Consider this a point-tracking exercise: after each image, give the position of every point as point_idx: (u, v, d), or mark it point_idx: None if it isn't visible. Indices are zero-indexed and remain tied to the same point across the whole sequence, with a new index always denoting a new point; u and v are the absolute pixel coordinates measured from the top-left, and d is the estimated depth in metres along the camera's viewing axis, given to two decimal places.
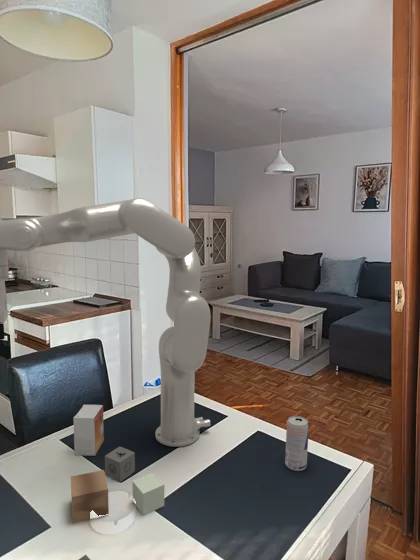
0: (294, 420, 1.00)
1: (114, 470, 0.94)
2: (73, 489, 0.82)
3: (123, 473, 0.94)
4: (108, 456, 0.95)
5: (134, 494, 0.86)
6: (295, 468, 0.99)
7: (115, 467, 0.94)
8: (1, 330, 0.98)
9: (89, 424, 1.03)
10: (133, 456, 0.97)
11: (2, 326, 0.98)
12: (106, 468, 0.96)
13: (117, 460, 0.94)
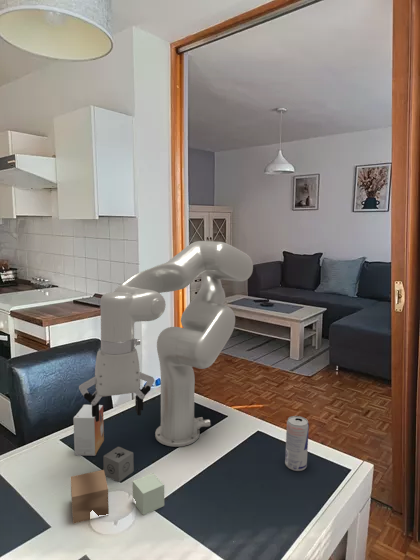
0: (294, 420, 1.00)
1: (113, 470, 0.94)
2: (73, 489, 0.82)
3: (122, 473, 0.94)
4: (107, 456, 0.95)
5: (134, 494, 0.86)
6: (295, 468, 0.99)
7: (114, 467, 0.94)
8: None
9: (89, 424, 1.03)
10: (132, 456, 0.97)
11: None
12: (105, 468, 0.96)
13: (115, 460, 0.94)
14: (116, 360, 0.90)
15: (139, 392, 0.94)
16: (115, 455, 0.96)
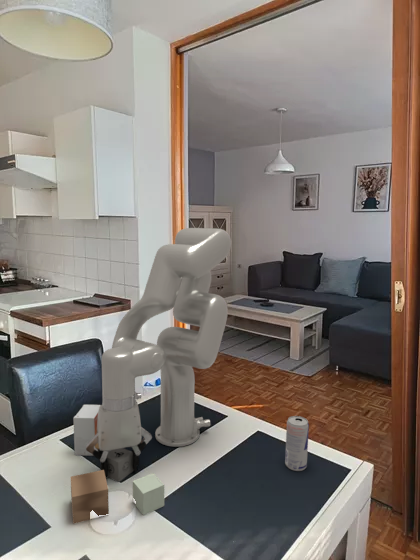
0: (294, 420, 1.00)
1: (112, 470, 0.94)
2: (73, 489, 0.82)
3: (121, 473, 0.94)
4: None
5: (134, 494, 0.86)
6: (295, 468, 0.99)
7: (113, 467, 0.94)
8: None
9: (89, 424, 1.03)
10: (131, 456, 0.97)
11: None
12: None
13: (115, 460, 0.94)
14: (117, 416, 0.92)
15: (136, 448, 0.96)
16: (115, 455, 0.96)
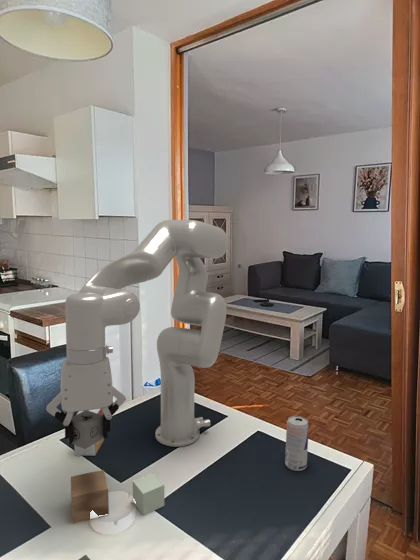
0: (294, 420, 1.00)
1: (78, 435, 0.80)
2: (73, 489, 0.82)
3: (89, 439, 0.80)
4: (71, 419, 0.81)
5: (134, 494, 0.86)
6: (295, 468, 0.99)
7: (79, 431, 0.80)
8: None
9: None
10: (101, 420, 0.83)
11: None
12: None
13: (81, 423, 0.80)
14: (83, 370, 0.78)
15: (107, 411, 0.82)
16: (81, 418, 0.82)
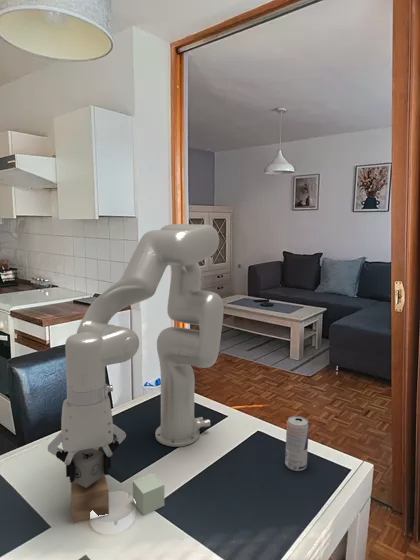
0: (294, 420, 1.00)
1: (79, 474, 0.81)
2: (73, 489, 0.82)
3: (90, 477, 0.81)
4: (72, 458, 0.82)
5: (134, 494, 0.86)
6: (295, 468, 0.99)
7: (80, 470, 0.81)
8: None
9: None
10: (102, 457, 0.84)
11: None
12: None
13: (82, 462, 0.81)
14: (84, 411, 0.79)
15: (107, 448, 0.83)
16: (82, 456, 0.83)
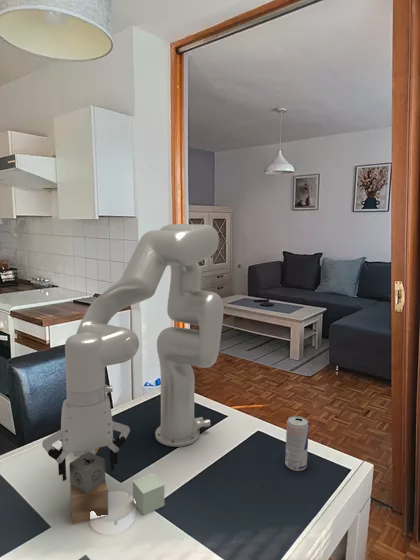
0: (294, 420, 1.00)
1: (80, 480, 0.81)
2: (73, 490, 0.82)
3: (90, 483, 0.81)
4: (73, 463, 0.82)
5: (134, 494, 0.86)
6: (295, 468, 0.99)
7: (81, 476, 0.81)
8: None
9: None
10: (103, 463, 0.84)
11: None
12: (71, 477, 0.83)
13: (83, 468, 0.81)
14: (83, 412, 0.79)
15: (112, 445, 0.84)
16: (83, 462, 0.83)
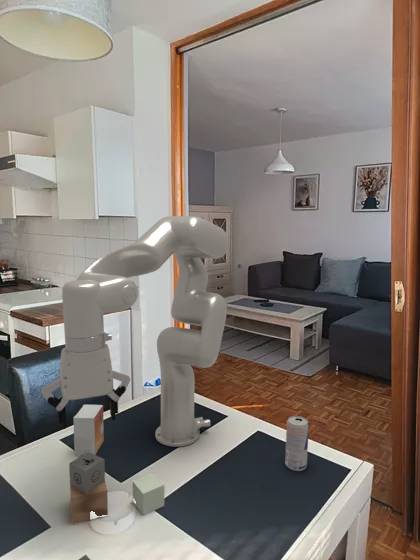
0: (294, 420, 1.00)
1: (79, 480, 0.81)
2: (72, 490, 0.82)
3: (90, 483, 0.81)
4: (73, 463, 0.82)
5: (134, 494, 0.86)
6: (295, 468, 0.99)
7: (80, 476, 0.81)
8: None
9: (89, 424, 1.03)
10: (103, 463, 0.84)
11: None
12: (71, 477, 0.83)
13: (82, 468, 0.81)
14: (82, 358, 0.78)
15: (112, 394, 0.82)
16: (83, 462, 0.83)
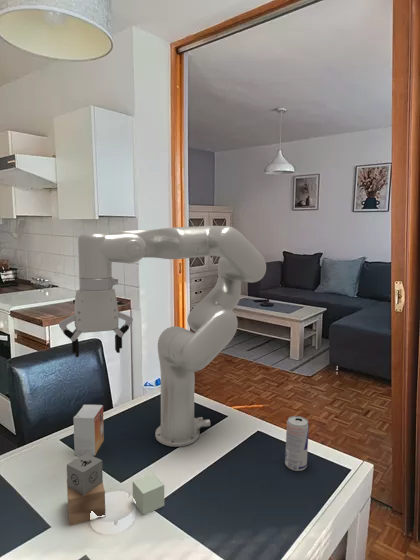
0: (294, 420, 1.00)
1: (77, 481, 0.81)
2: (69, 491, 0.81)
3: (87, 485, 0.81)
4: (71, 465, 0.82)
5: (134, 494, 0.86)
6: (295, 468, 0.99)
7: (78, 478, 0.81)
8: None
9: (89, 424, 1.03)
10: (100, 465, 0.84)
11: None
12: (68, 478, 0.82)
13: (80, 469, 0.81)
14: (94, 296, 0.94)
15: (118, 330, 0.98)
16: (81, 463, 0.83)
